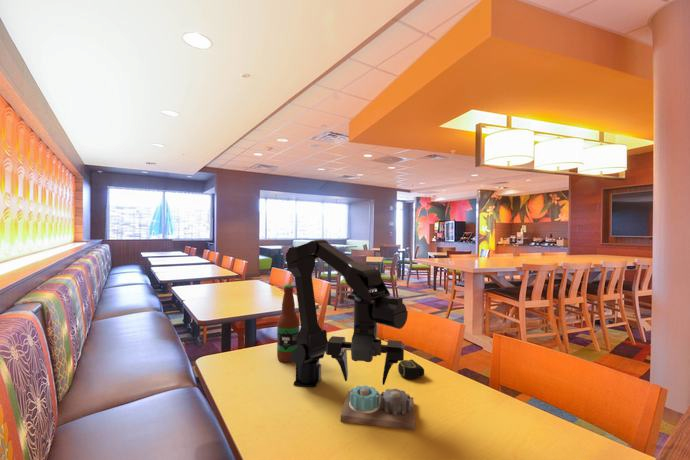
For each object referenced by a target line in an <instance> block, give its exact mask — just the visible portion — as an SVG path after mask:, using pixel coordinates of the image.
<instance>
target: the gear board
mask: <svg viewBox="0 0 690 460" xmlns="http://www.w3.org/2000/svg"><path fill="white" fill-rule="evenodd" d="M346 393H347V394H346V397H345V400H344V403H343V406H342V409H341V413H340V422H341V423H342V422H343V423H351V424H361V425H368V426H377V427H385V428H394V429H401V430H402V429H403V430H413V431H416V416H415V405H414V404H415V403H414V397H412V396H410V394H409V393H406V391H405V390H402V389H401V390H400V389H398V388H392V389H390V388H387V389H385V391H381V393H379V403H378V407H377V408H376V407H375V408H374V409H373V410H371V411H370V410H367V411H361V410H359V409H354V408H353V405H351V404H350V393H351V390H349V391H347V392H346ZM360 395H363V396H368V395H369V389H367V388H362V389H360Z"/></svg>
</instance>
